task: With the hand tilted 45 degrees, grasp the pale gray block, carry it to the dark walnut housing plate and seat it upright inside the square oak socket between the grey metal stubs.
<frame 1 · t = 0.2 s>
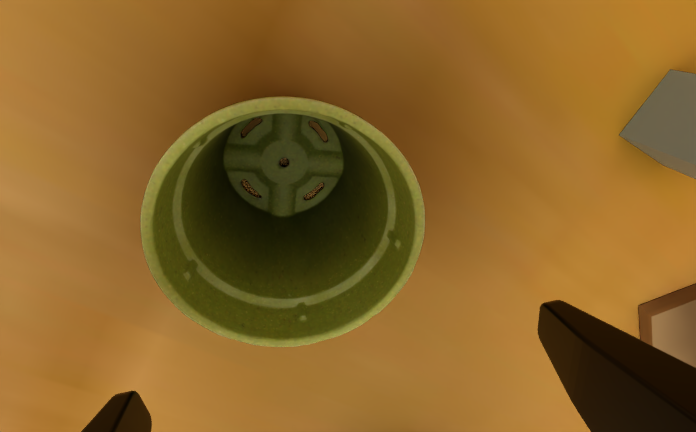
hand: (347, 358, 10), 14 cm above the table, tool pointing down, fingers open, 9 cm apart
plant pot: (285, 156, 23), on the table
pale gray block: (666, 119, 25), on the table
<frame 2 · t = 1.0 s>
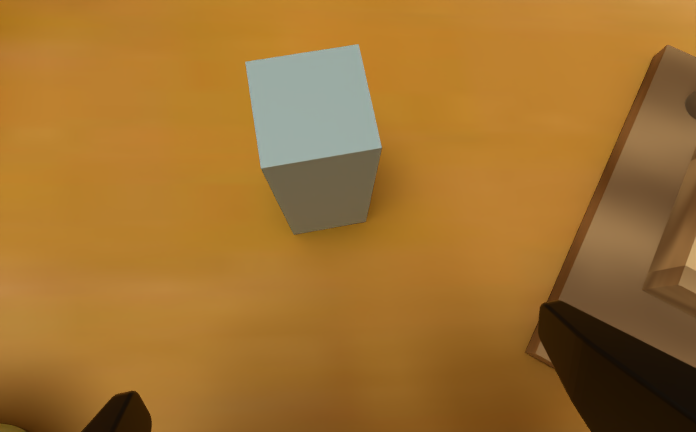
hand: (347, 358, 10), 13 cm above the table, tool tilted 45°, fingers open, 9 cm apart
pale gray block: (323, 193, 24), on the table
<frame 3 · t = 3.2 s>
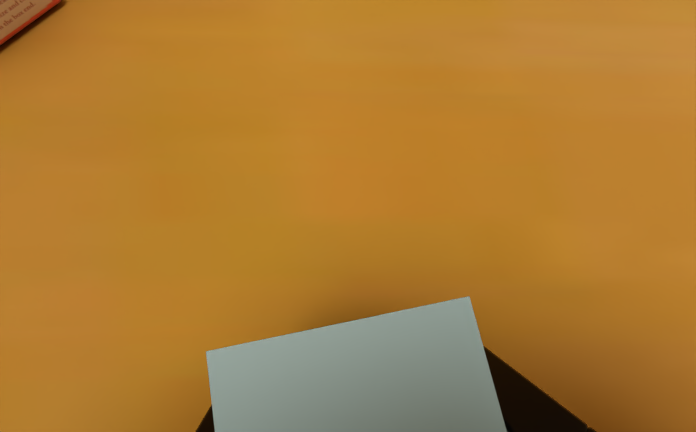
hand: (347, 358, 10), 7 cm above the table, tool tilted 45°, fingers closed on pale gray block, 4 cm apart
pale gray block: (353, 391, 16), on the table, touching gripper
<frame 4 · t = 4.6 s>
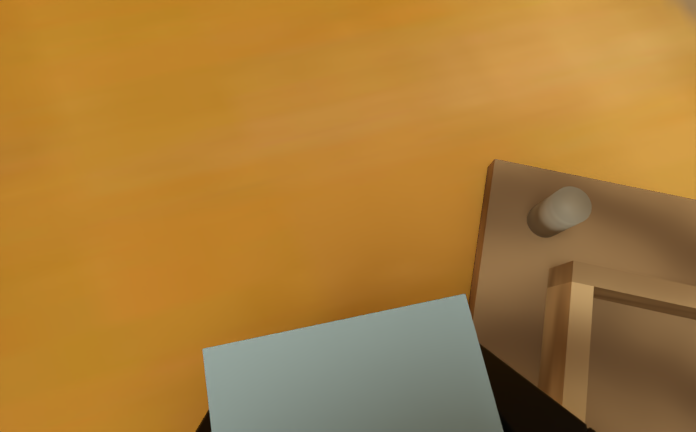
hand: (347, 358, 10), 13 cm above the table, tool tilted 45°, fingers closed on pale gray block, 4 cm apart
housing: (618, 376, 22), on the table
pale gray block: (351, 389, 16), point 7 cm above the table, touching gripper
when the fingers open (9 cm above the table, at t = 6.5 s): pale gray block drops 1 cm, resting on housing.
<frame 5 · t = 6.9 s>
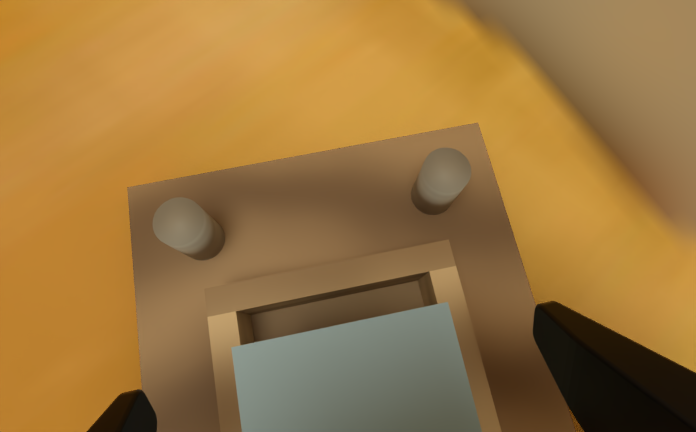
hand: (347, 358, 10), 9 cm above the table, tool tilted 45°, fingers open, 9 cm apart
housing: (352, 383, 18), on the table
pale gray block: (352, 384, 17), point 1 cm above the table, touching housing
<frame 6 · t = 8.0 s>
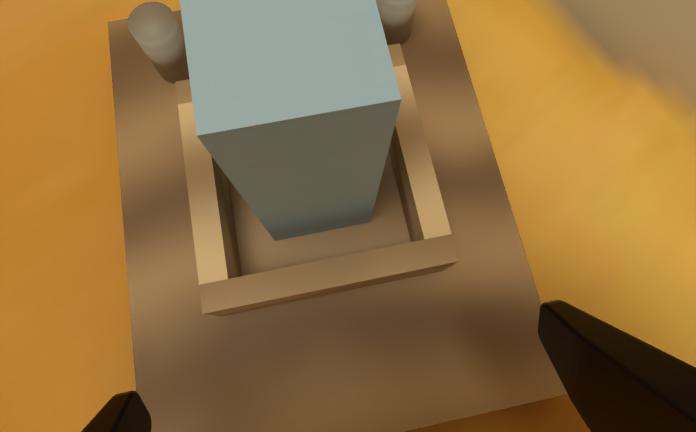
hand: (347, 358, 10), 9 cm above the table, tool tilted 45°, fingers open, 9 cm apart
housing: (315, 196, 20), on the table
pale gray block: (314, 186, 19), point 1 cm above the table, touching housing
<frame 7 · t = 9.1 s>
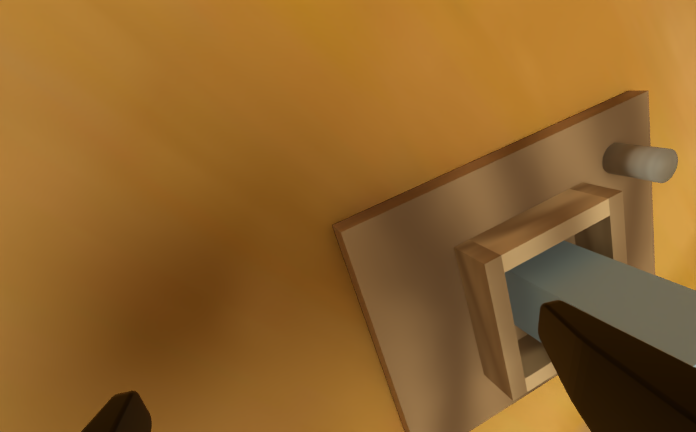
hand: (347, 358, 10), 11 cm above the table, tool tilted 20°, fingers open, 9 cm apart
housing: (517, 272, 27), on the table
pale gray block: (533, 280, 26), point 1 cm above the table, touching housing
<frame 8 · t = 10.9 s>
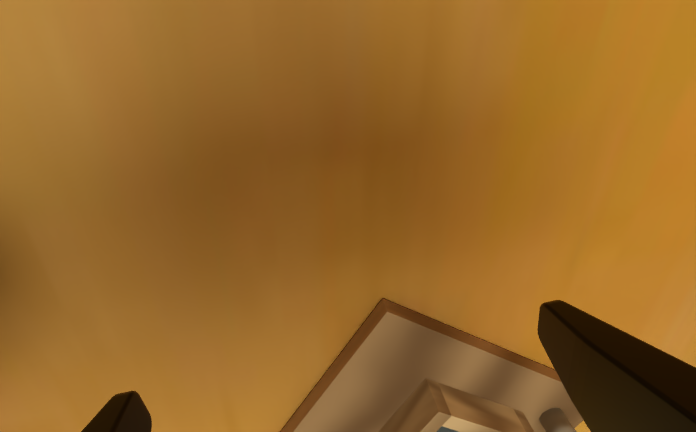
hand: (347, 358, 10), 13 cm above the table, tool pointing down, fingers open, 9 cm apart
housing: (432, 421, 32), on the table
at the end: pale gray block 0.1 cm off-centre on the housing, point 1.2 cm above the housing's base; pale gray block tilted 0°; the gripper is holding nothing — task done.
